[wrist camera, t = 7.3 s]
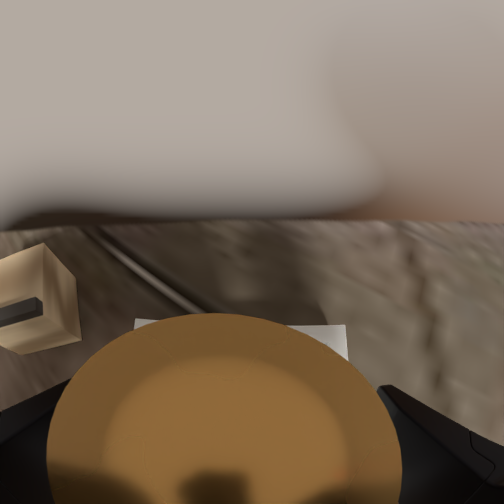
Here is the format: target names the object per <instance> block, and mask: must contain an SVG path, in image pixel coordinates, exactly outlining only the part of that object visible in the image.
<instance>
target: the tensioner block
mask: <svg viewBox="0 0 504 504" xmlns="http://www.w3.org/2000/svg"><path fill="white" fill-rule="evenodd" d="M78 341H82V336H81V328H80V320H79V310H78V300H77V287H76V278H75V277H74V276H73V275H72V273H71V272H70V271H69V270H68V269H67V268H66V267H65V266H64V265H63V264H62V263H61V262H60V260H59V259H58V258H57V257H56V256H55V255H54V254H53V253H52V251H51V250H50V249H49V248H48V247H47V246H46V245H45V243H41V244H39V245H36V246H33V247H31V248H28V249H26V250H23V251H21V252H18V253H16V254H13V255H11V256H8V257H6V258H3V259H1V260H0V346H2V347H4V348H6V349H9V350H11V351H13V352H15V353H17V354H19V355H24V354H29V353H33V352H37V351H41V350H46V349H50V348H54V347H58V346H62V345H66V344H70V343H74V342H78Z"/></svg>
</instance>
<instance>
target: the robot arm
mask: <svg viewBox="0 0 504 504" xmlns="http://www.w3.org/2000/svg"><path fill="white" fill-rule="evenodd" d="M72 378H73V377H72ZM72 378H70V379H68V380H66V381H64V382H62V383H60V384H58V385H56V386H54V387H52V388H50V389H48V390H46V391H44V392H42V393H39V394H37V395H35V396H33V397H31V398H29V399H27V400H25V401H22V402H20V403H18V404H16V405H14V406H12V407H10V408H7V409H5V410H3V411H2V412H0V504H55V501H54V499H53V495H52V491H51V487H50V483H49V479H48V470H47V461H46V460H47V439H48V433H49V428H50V423H51V420H52V417H53V414H54V411H55V408H56V405H57V403H58V401H59V399H60V397H61V395H62V393H63V391H64V389H65V388H66V386H67V385H68V383H69V382H70V380H71V379H72ZM377 394H378V395H379V397H380V399H381V400H382V402H383V404H384V405H385V407H386V409H387V410H388V413H389V415H390V418H391V420H392V422H393V425H394V427H395V430H396V434H397V437H398V441H399V446H400V450H401V461H402V481H401V491H400V496H399V500H398V503H399V504H504V446H502V445H499V444H497V443H495V442H492V441H490V440H488V439H486V438H484V437H482V436H480V435H478V434H476V433H475V432H473V431H469V429H467V428H465V427H464V426H462V425H460V424H458V423H456V422H455V421H453V420H451V419H449V418H448V417H446V416H444V415H442V414H440V413H439V412H437V411H435V410H434V409H432V408H430V407H428V406H427V405H425V404H423V403H421V402H420V401H418V400H416V399H415V398H413V397H411V396H409V395H408V394H406V393H404V392H403V391H401V390H399V389H398V388H396V387H394V386H393V385H382V386H379V387H378V389H377Z"/></svg>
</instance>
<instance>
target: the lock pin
mask: <svg viewBox="0 0 504 504" xmlns="http://www.w3.org/2000/svg"><path fill="white" fill-rule="evenodd" d="M46 461H47V470H48V479H49V483H50V487H51V491H52V495H53V499H54V501H55V504H398V500H399V496H400V491H401V481H402V461H401V450H400V446H399V441H398V437H397V434H396V430H395V427H394V425H393V422H392V420H391V418H390V415H389V413H388V410H387V409H386V407H385V405H384V404H383V402H382V400H381V399H380V397H379V395H378V394H377V392H376V391H375V390H374V388H373V387H372V386H371V385H370V383H369V382H368V381H367V380H366V378H365V377H364V376H363V375H362V374H361V373H360V372H359V371H358V370H357V369H356V368H355V367H354V366H353V365H352V364H351V363H349V362H348V361H347V360H346V359H345V358H344V357H342V356H341V355H339V354H338V353H337V352H335V351H334V350H333V349H331V348H330V347H328V346H327V345H325V344H323V343H322V342H320V341H318V340H316V339H314V338H313V337H311V336H309V335H307V334H305V333H303V332H300V331H298V330H295V329H293V328H290V327H288V326H286V325H283V324H279V323H276V322H272V321H269V320H265V319H262V318H256V317H250V316H244V315H238V314H222V313H206V314H189V315H183V316H177V317H171V318H166V319H163V320H160V321H156V322H153V323H149V324H146V325H144V326H141V327H139V328H137V329H134V330H132V331H130V332H127V333H125V334H123V335H122V336H120V337H118V338H117V339H115V340H113V341H112V342H110V343H108V344H107V345H105V346H104V347H103V348H102V349H100V350H99V351H98V352H97V353H95V354H94V355H93V356H91V357H90V358H89V359H88V361H87V362H86V363H85V364H84V365H83V366H82V367H81V368H80V369H79V370H78V371H77V372H76V374H75V375H74V376H73V378H72V379H71V380H70V382H69V383H68V385H67V386H66V388H65V389H64V391H63V393H62V395H61V397H60V399H59V401H58V403H57V405H56V408H55V411H54V414H53V417H52V420H51V423H50V428H49V433H48V439H47V460H46Z"/></svg>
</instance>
